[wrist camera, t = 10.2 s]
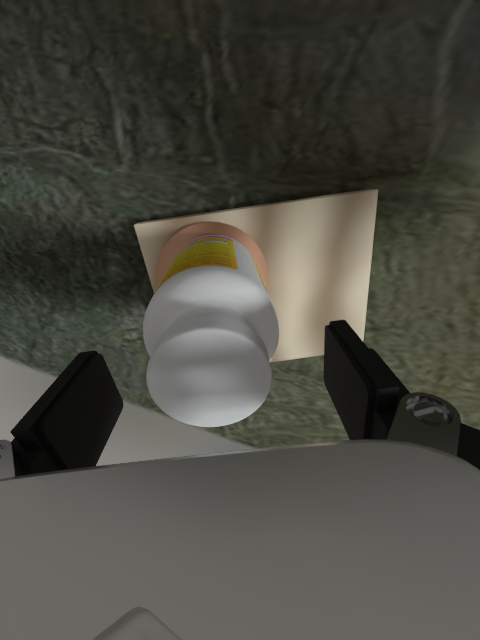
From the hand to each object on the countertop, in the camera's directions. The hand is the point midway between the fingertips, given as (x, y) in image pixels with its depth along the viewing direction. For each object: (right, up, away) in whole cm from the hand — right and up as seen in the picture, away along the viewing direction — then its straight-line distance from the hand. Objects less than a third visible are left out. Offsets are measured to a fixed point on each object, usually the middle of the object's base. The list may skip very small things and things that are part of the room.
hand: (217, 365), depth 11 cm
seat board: (+3, +5, +13) cm, 14 cm away
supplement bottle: (-1, +5, +10) cm, 12 cm away
